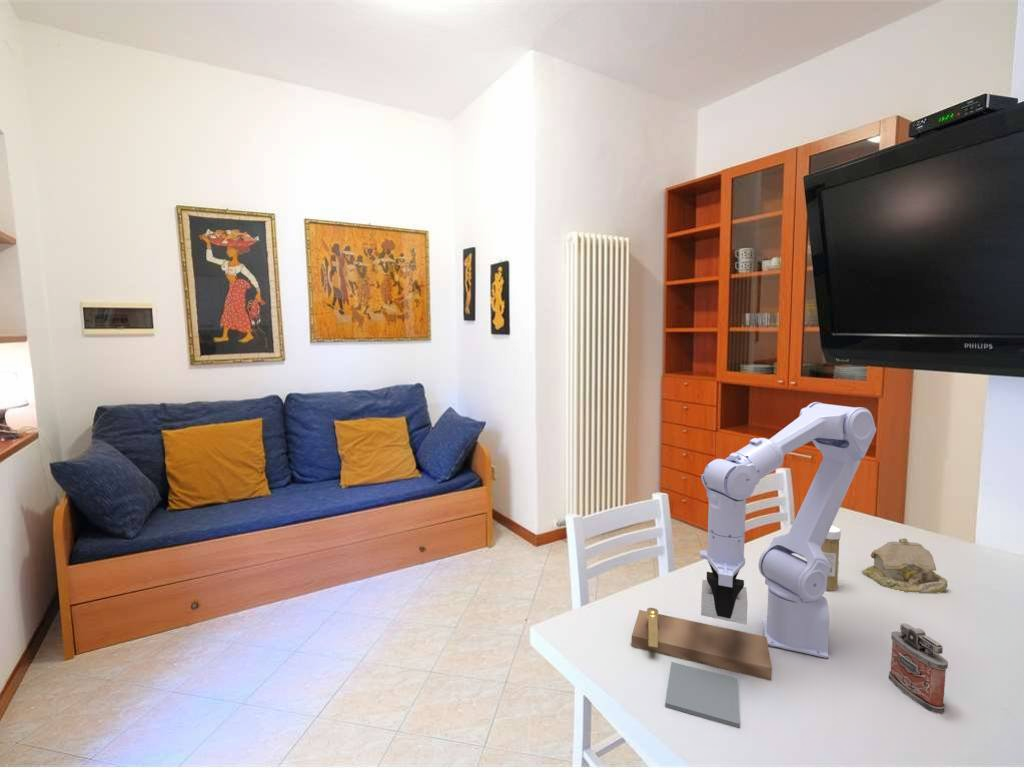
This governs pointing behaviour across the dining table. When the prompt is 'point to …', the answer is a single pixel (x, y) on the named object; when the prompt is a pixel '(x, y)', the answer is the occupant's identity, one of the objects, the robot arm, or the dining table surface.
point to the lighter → (918, 667)
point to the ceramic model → (905, 568)
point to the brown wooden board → (706, 644)
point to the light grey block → (710, 611)
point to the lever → (652, 627)
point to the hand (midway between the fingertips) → (723, 607)
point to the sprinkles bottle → (832, 556)
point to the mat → (703, 694)
